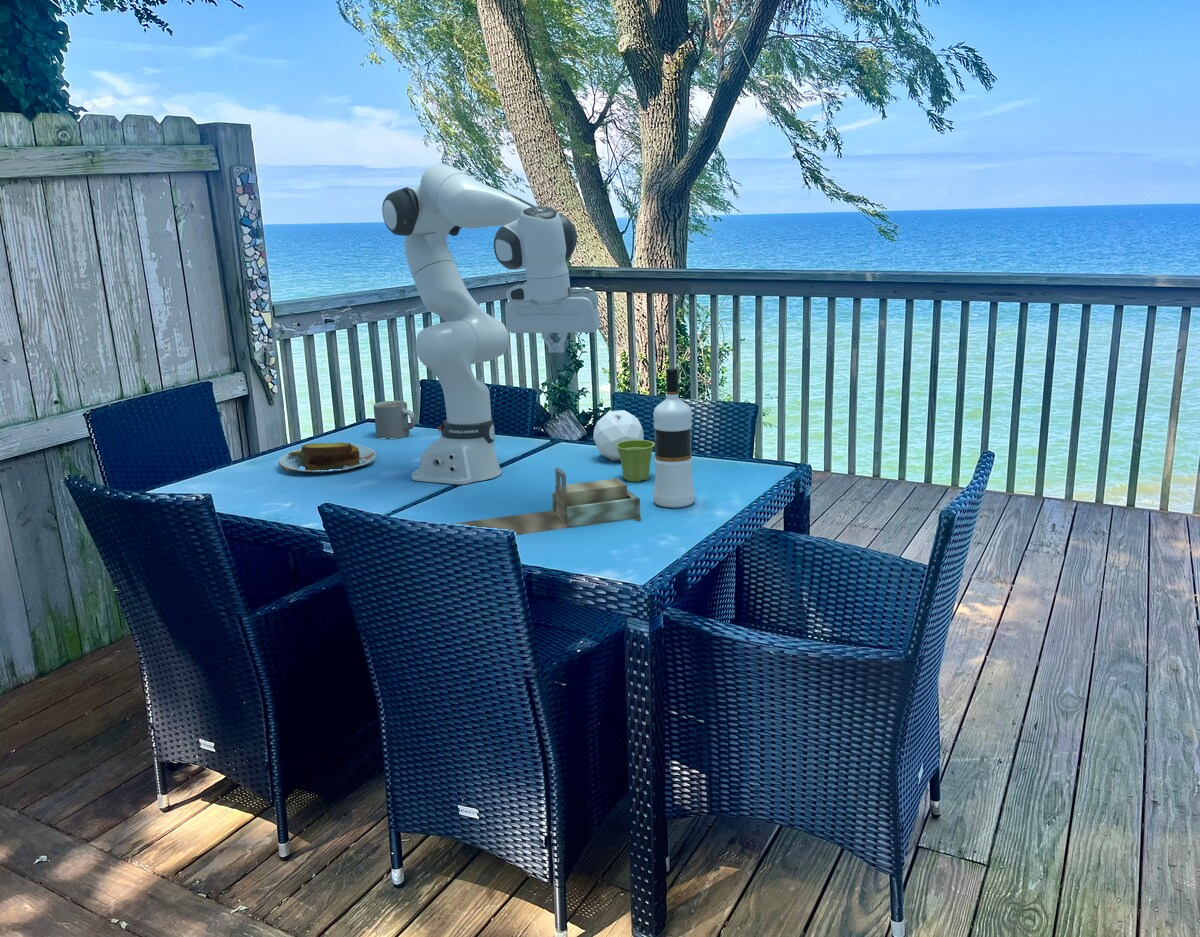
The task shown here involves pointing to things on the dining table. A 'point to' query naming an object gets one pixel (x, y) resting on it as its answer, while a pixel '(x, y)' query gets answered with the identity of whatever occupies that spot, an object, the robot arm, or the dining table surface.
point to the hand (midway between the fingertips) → (556, 352)
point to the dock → (575, 516)
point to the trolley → (585, 493)
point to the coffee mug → (393, 419)
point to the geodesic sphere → (616, 432)
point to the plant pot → (635, 459)
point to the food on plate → (327, 457)
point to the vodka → (673, 448)
